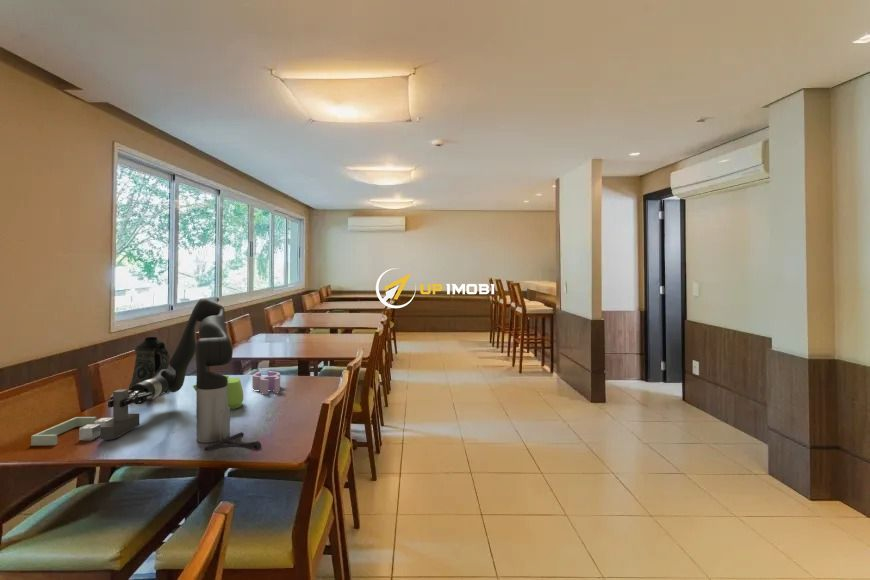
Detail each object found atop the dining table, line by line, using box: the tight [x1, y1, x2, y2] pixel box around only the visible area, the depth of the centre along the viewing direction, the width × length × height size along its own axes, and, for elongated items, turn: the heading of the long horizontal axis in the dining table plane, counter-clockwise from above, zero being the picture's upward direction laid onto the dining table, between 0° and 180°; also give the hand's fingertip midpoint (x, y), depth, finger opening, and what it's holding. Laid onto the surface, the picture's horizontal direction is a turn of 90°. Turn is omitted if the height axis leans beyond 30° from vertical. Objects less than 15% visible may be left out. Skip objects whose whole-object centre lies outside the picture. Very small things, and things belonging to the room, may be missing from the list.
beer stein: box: [128, 336, 171, 393], centre depth 206 cm, size 16×19×25 cm
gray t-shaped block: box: [100, 388, 140, 440], centre depth 150 cm, size 4×14×14 cm, turn 4°
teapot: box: [192, 374, 244, 411], centre depth 182 cm, size 18×20×13 cm
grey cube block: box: [78, 424, 101, 441], centre depth 146 cm, size 4×4×4 cm
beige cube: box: [94, 417, 113, 427], centre depth 153 cm, size 4×4×4 cm
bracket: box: [204, 431, 262, 451], centre depth 142 cm, size 14×15×3 cm
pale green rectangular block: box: [30, 416, 98, 446], centre depth 149 cm, size 7×19×3 cm, turn 4°
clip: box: [251, 370, 281, 395], centre depth 212 cm, size 20×12×7 cm, turn 31°
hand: (115, 404), depth 147 cm, fingers closed on gray t-shaped block, 3 cm apart
